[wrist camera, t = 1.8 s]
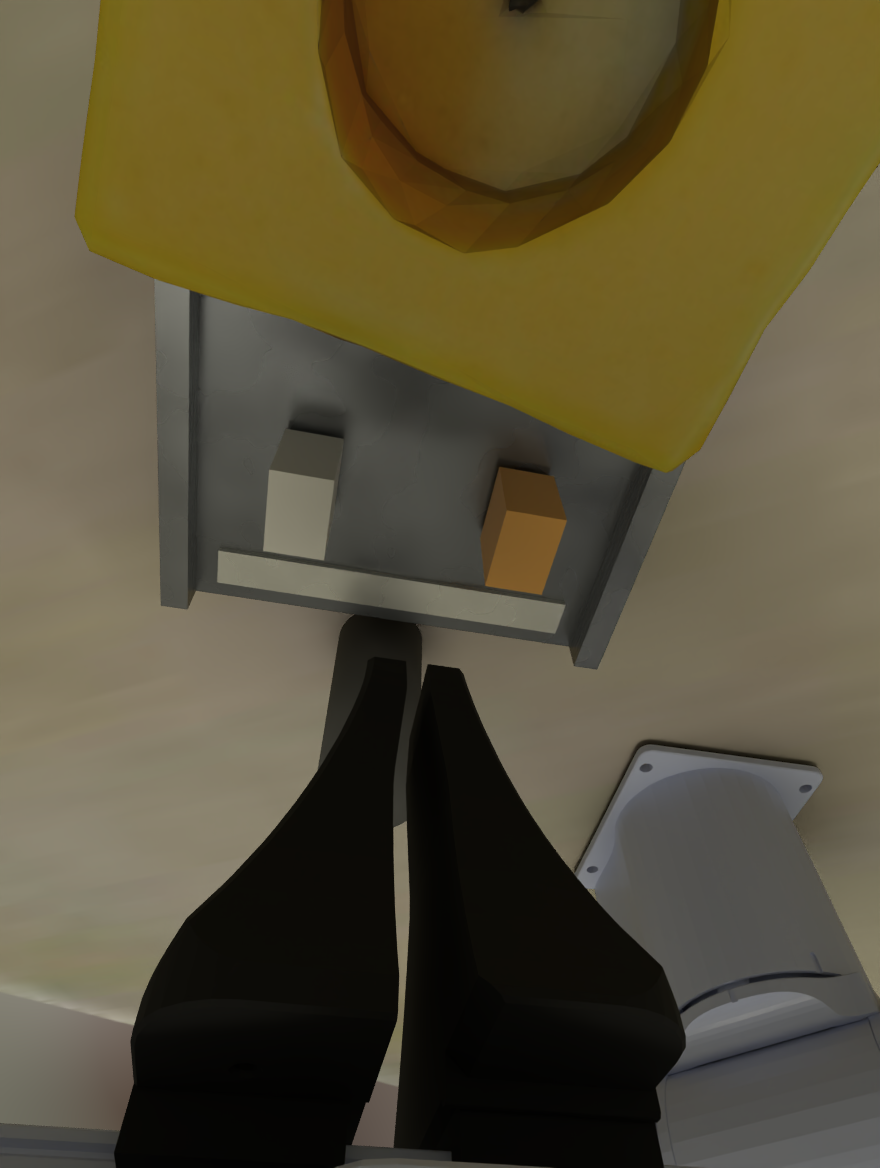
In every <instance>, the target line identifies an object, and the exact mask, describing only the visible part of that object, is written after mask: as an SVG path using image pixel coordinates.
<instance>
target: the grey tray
mask: <svg viewBox="0 0 880 1168" xmlns="http://www.w3.org/2000/svg"><path fill="white" fill-rule="evenodd" d="M154 281H155V332H156V383H157V434H158V485H159V536H160V587H161V606H167V607H174V608H181V609H188V607H189V605H190V603H191V601H192V598H193V596H194V594H195V592H196V591H202V592H209V593H215V594H222V595H229V596H235V597H242V598H249V599H255V600H262V601H269V602H275V603H282V604H289V605H295V606H302V607H309V608H315V609H322V610H329V611H336V612H342V613H349V614H356V615H362V616H369V617H376V618H382V619H389V620H396V621H402V622H409V623H416V624H422V625H429V626H436V627H442V628H449V629H456V630H462V631H469V632H476V633H482V634H489V635H496V636H502V637H509V638H516V639H522V640H529V641H536V642H542V643H549V644H556V645H563V646H569V648H570V652H571V656H572V660H573V664H574V666H577V667H583V668H590V669H598V666H599V664H600V662H601V659H602V657H603V655H604V652H605V650H606V648H607V645H608V643H609V641H610V638H611V636H612V634H613V631H614V629H615V626H616V624H617V622H618V619H619V617H620V615H621V612H622V610H623V608H624V605H625V603H626V601H627V598H628V596H629V593H630V591H631V589H632V586H633V584H634V582H635V579H636V577H637V575H638V572H639V570H640V568H641V565H642V563H643V561H644V558H645V556H646V553H647V551H648V549H649V546H650V544H651V542H652V539H653V537H654V535H655V532H656V530H657V528H658V525H659V523H660V521H661V518H662V516H663V513H664V511H665V509H666V506H667V504H668V502H669V499H670V497H671V495H672V492H673V490H674V488H675V485H676V483H677V481H678V478H679V476H680V473H681V471H682V469H683V466H684V464H685V462H686V461H685V462H683V463H682V464H681V465H680V466H678V467H677V468H676V469H674V470H673V471H671V472H668V473H664V472H662V471H659V470H656V469H653V468H650V467H647V466H644V465H641V464H638V463H635V462H633V461H630V460H628V459H626V458H623V457H621V456H619V455H616V454H614V453H612V452H609V451H607V450H605V449H602V448H600V447H598V446H595V445H593V444H591V443H589V442H586V441H584V440H582V439H579V438H577V437H575V436H572V435H570V434H568V433H566V432H563V431H561V430H559V429H557V428H555V427H553V426H551V425H549V424H547V423H545V422H542V421H540V420H538V419H536V418H534V417H532V416H530V415H528V414H526V413H524V412H522V411H519V410H517V409H515V408H513V407H511V406H509V405H506V404H504V403H501V402H498V401H496V400H493V399H491V398H488V397H485V396H483V395H480V394H478V393H475V392H472V391H470V390H467V389H465V388H462V387H459V386H457V385H454V384H452V383H449V382H446V381H444V380H441V379H439V378H436V377H434V376H432V375H429V374H427V373H424V372H422V371H420V370H417V369H415V368H412V367H410V366H408V365H405V364H403V363H400V362H398V361H396V360H393V359H391V358H388V357H386V356H384V355H381V354H379V353H376V352H374V351H372V350H369V349H367V348H364V347H362V346H359V345H356V344H352V343H349V342H346V341H343V340H340V339H338V338H335V337H333V336H330V335H328V334H326V333H323V332H321V331H318V330H316V329H314V328H311V327H309V326H306V325H304V324H302V323H299V322H297V321H294V320H292V319H288V318H285V317H281V316H277V315H273V314H269V313H265V312H262V311H258V310H254V309H250V308H246V307H242V306H239V305H235V304H232V303H229V302H225V301H222V300H219V299H216V298H213V297H210V296H207V295H203V294H200V293H197V292H194V291H191V290H188V289H184V288H181V287H178V286H175V285H172V284H169V283H165V282H162V281H159V280H156V279H154ZM285 429H291V430H296V431H302V432H308V433H313V434H319V435H324V436H330V437H336V438H341V439H344V443H343V450H342V457H341V465H340V472H339V480H338V487H337V495H336V502H335V509H334V516H333V520H332V525H331V530H330V534H329V539H328V544H327V549H326V553H325V558H324V560H318V559H311V558H305V557H299V556H292V555H286V554H280V553H273V552H267V551H263V546H264V533H265V519H266V506H267V492H268V479H269V469H270V466H271V464H272V461H273V459H274V456H275V454H276V451H277V449H278V446H279V444H280V441H281V439H282V436H283V434H284V431H285ZM499 467H504V468H510V469H515V470H521V471H526V472H532V473H538V474H543V475H549V476H554V479H555V482H556V485H557V489H558V492H559V495H560V499H561V502H562V505H563V509H564V512H565V515H566V519H567V522H566V525H565V528H564V531H563V534H562V537H561V540H560V543H559V546H558V549H557V552H556V554H555V557H554V560H553V563H552V566H551V569H550V572H549V575H548V578H547V581H546V584H545V587H544V590H543V592H542V595H539V594H533V593H527V592H520V591H514V590H508V589H501V588H495V587H489V586H485V580H484V570H483V561H482V551H481V542H480V536H481V533H482V529H483V525H484V522H485V518H486V514H487V510H488V507H489V503H490V499H491V496H492V492H493V488H494V484H495V481H496V477H497V473H498V470H499Z"/></svg>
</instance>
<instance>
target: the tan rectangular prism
mask: <svg viewBox="0 0 880 1168" xmlns="http://www.w3.org/2000/svg"><path fill="white" fill-rule="evenodd" d="M566 522H567V519H566V515H565V512H564V509H563V505H562V502H561V499H560V495H559V492H558V489H557V485H556V482H555V479H554V476H549V475H543V474H538V473H532V472H526V471H521V470H515V469H510V468H504V467H499V470H498V473H497V477H496V481H495V484H494V488H493V492H492V496H491V499H490V503H489V507H488V510H487V514H486V518H485V522H484V525H483V529H482V533H481V536H480V542H481V551H482V561H483V570H484V580H485V586H489V587H495V588H501V589H508V590H514V591H520V592H527V593H533V594H539V595H542V592H543V590H544V587H545V584H546V581H547V578H548V575H549V572H550V569H551V566H552V563H553V560H554V557H555V554H556V552H557V549H558V546H559V543H560V540H561V537H562V534H563V531H564V528H565V525H566Z"/></svg>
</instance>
